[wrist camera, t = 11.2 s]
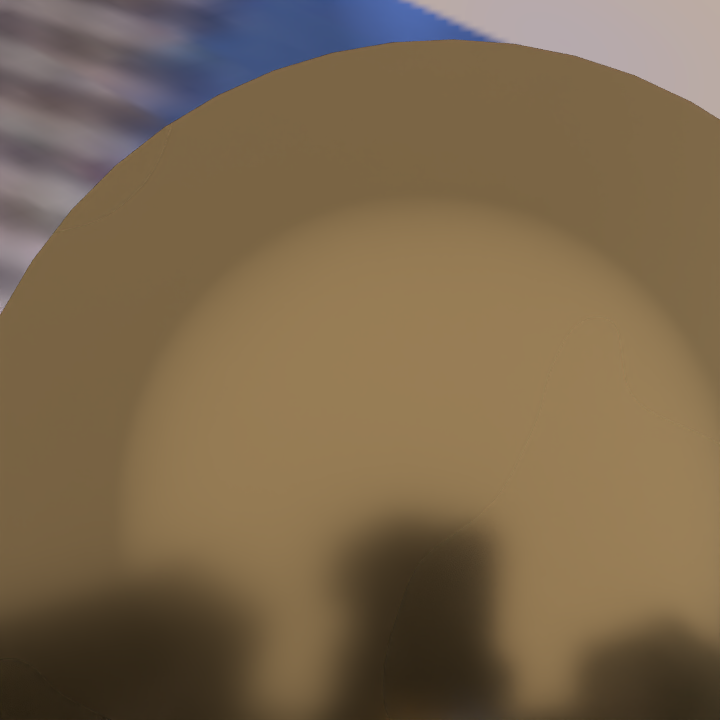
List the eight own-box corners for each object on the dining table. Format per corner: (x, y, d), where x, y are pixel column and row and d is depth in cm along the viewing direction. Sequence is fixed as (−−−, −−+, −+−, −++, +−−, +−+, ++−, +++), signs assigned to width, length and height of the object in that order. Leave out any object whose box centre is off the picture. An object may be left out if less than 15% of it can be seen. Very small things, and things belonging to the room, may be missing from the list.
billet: (306, 595, 16) (45, 1226, 3) (258, 385, 17) (-129, 162, 4) (516, 541, 16) (1129, 929, 3) (459, 335, 17) (780, -54, 4)
